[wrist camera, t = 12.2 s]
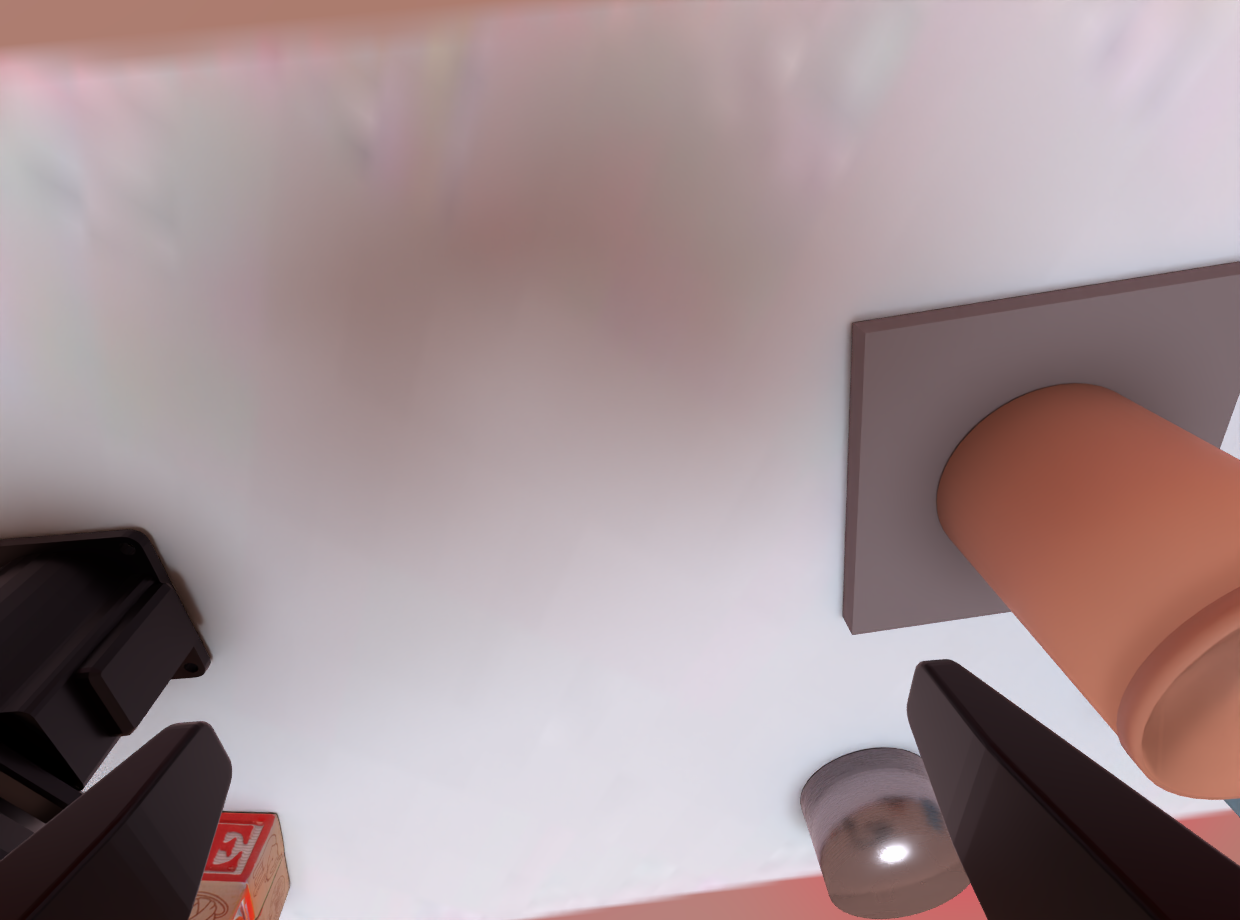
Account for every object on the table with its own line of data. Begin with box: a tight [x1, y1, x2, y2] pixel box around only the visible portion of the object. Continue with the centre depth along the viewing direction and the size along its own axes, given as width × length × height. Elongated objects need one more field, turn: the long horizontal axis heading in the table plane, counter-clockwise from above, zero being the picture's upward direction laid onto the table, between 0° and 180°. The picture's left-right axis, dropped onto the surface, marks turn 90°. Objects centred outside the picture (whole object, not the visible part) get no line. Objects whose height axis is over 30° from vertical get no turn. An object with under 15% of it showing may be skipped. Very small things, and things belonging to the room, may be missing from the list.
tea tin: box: [801, 748, 970, 919], centre depth 29 cm, size 6×6×4 cm
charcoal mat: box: [843, 262, 1240, 635], centre depth 22 cm, size 12×12×1 cm
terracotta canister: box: [937, 383, 1240, 800], centre depth 18 cm, size 7×7×9 cm
